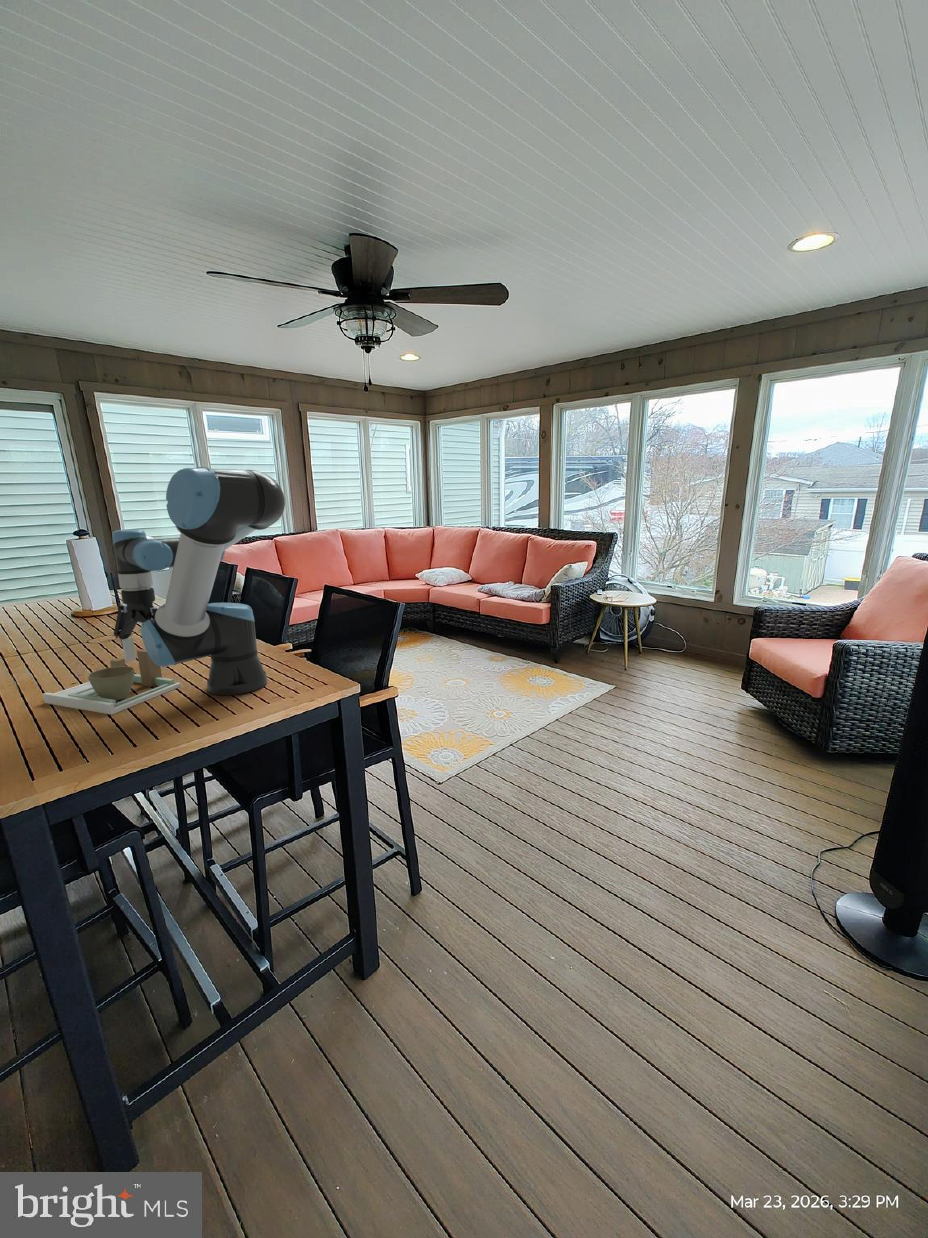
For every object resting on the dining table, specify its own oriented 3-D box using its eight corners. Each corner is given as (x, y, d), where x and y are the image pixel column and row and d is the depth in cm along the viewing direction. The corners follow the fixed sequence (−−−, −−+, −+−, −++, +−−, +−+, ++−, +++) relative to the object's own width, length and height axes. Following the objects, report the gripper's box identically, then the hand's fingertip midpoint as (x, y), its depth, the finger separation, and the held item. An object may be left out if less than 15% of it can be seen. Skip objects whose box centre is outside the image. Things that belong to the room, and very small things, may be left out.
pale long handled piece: (129, 678, 146) (126, 658, 145) (61, 702, 129) (57, 680, 128) (119, 677, 148) (116, 657, 146) (51, 700, 130) (46, 678, 129)
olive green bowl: (115, 706, 126) (111, 679, 125) (82, 704, 128) (77, 677, 127) (147, 692, 136) (143, 666, 134) (116, 689, 138) (111, 664, 136)
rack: (181, 686, 140) (180, 677, 139) (111, 714, 122) (109, 704, 121) (114, 676, 148) (112, 668, 147) (39, 702, 130) (37, 693, 129)
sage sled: (178, 684, 141) (173, 650, 139) (112, 711, 123) (105, 672, 121) (138, 679, 146) (133, 645, 144) (69, 704, 128) (61, 666, 126)
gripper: (184, 588, 135) (194, 663, 140) (116, 583, 143) (128, 654, 148) (160, 593, 128) (171, 672, 133) (90, 587, 136) (103, 662, 141)
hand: (148, 663), depth 141 cm, fingers open, 13 cm apart
